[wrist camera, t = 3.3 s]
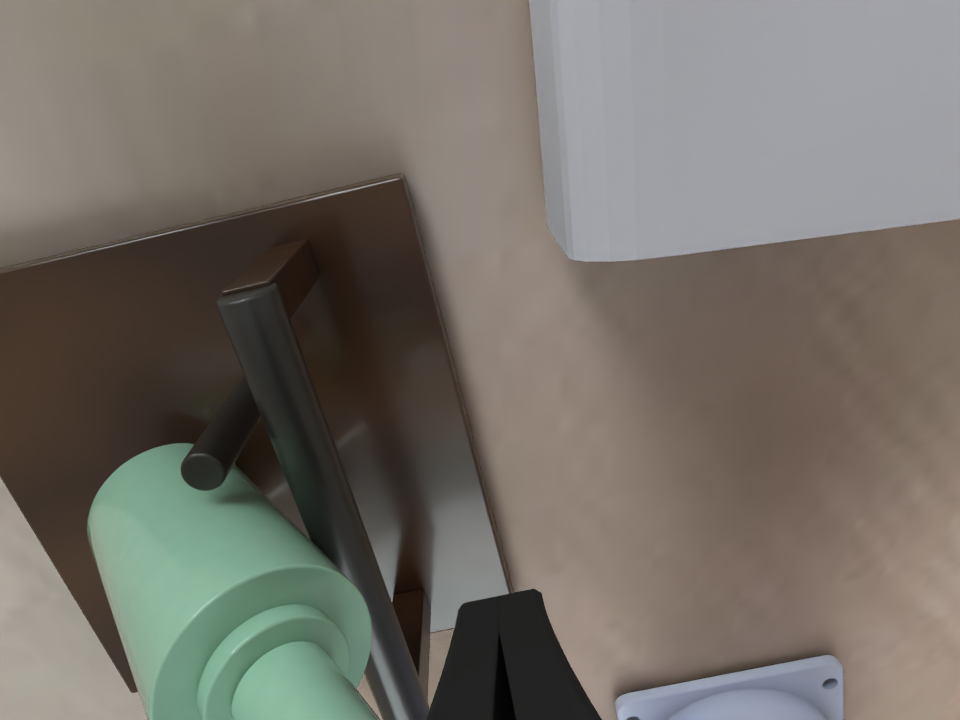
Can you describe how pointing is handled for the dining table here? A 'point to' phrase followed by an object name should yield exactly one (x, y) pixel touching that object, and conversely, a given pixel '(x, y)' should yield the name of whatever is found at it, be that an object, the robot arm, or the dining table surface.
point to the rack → (261, 403)
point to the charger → (743, 121)
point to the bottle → (225, 599)
